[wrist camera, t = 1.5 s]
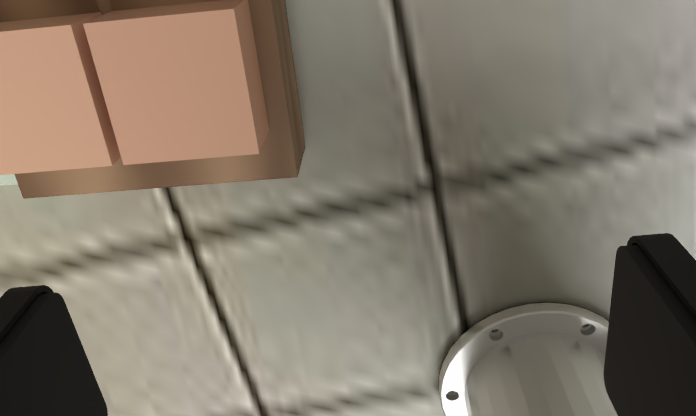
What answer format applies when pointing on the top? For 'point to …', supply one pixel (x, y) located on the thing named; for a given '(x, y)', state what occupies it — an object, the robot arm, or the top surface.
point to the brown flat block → (271, 163)
